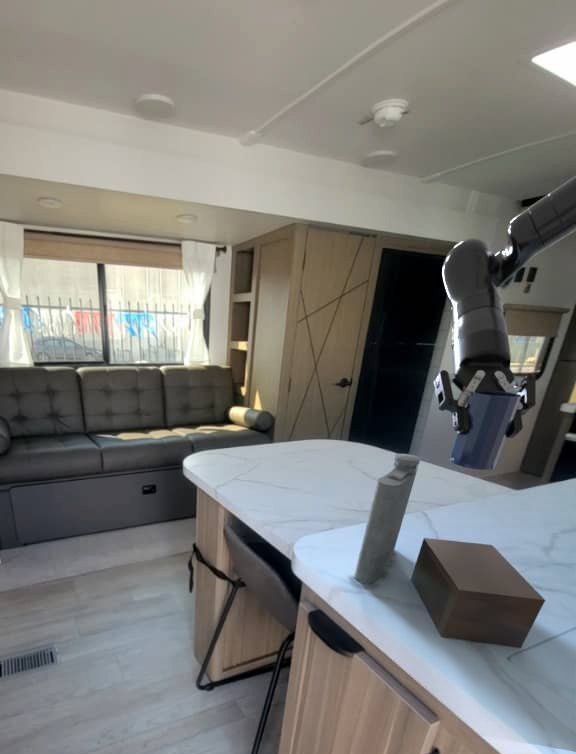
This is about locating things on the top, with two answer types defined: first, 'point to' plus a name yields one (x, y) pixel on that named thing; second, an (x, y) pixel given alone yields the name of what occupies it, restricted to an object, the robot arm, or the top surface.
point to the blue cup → (485, 429)
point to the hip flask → (386, 518)
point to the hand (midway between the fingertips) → (488, 433)
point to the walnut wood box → (475, 593)
